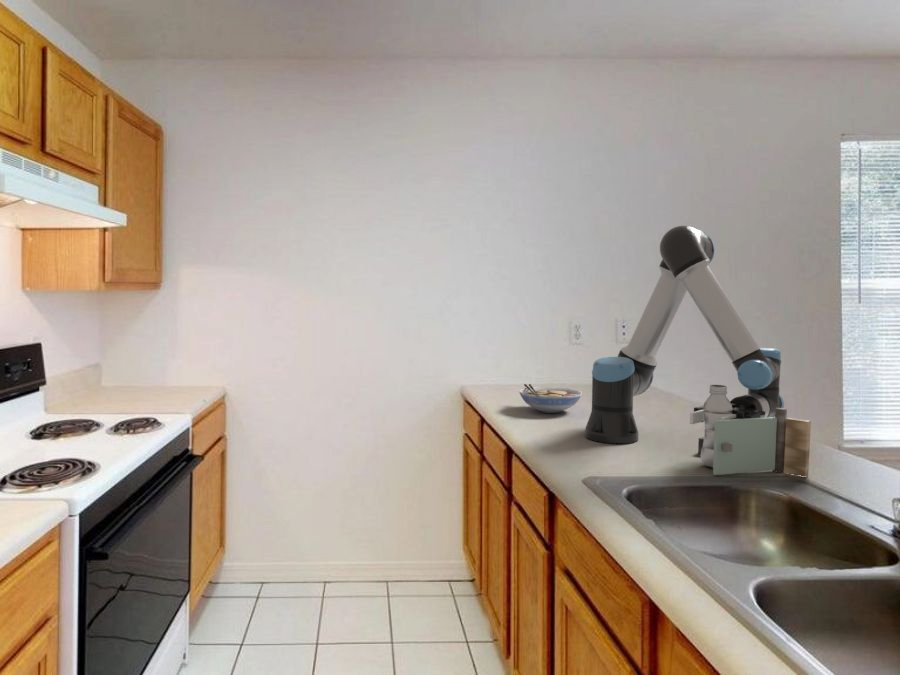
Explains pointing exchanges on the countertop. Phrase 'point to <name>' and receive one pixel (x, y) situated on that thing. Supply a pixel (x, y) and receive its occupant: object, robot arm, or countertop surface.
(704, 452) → the plastic bottle
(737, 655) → the countertop surface
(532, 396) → the ramen bowl
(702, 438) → the brown wooden panel
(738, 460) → the gate
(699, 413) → the robot arm
